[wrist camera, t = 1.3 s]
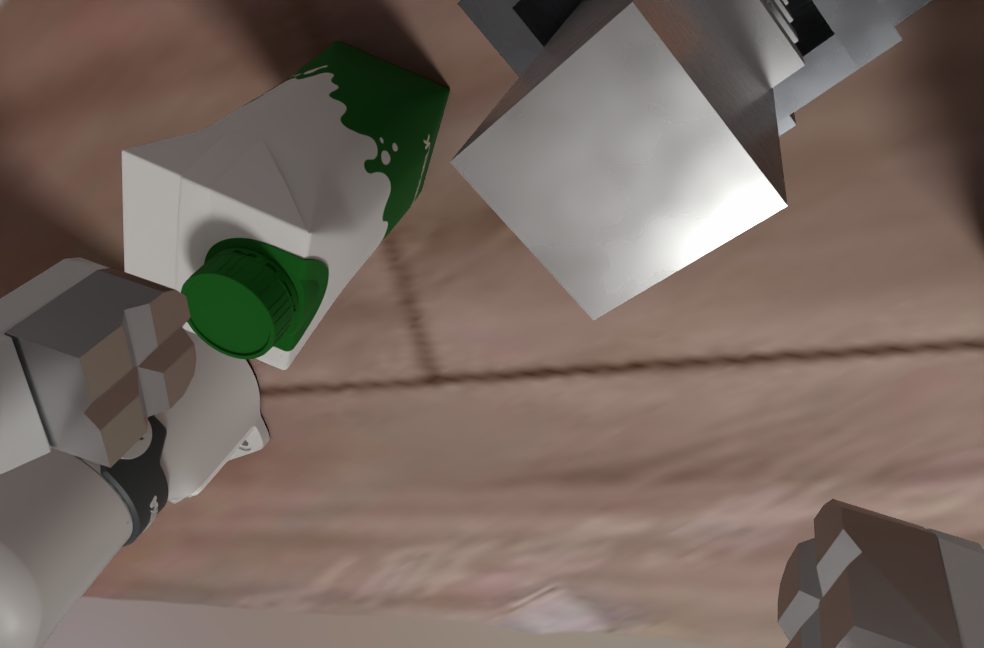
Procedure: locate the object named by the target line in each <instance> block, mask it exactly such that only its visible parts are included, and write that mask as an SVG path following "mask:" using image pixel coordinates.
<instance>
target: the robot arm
mask: <svg viewBox="0 0 984 648" xmlns="http://www.w3.org/2000/svg"><path fill="white" fill-rule="evenodd" d="M189 318H190V312H189V307H188V303H187V298H186V296H185V295H183V294H182V293H180V292H179V291H177V290H175V289H172V288H169V287H166V286H164V285H161V284H158V283H155V282H152V281H149V280H146V279H143V278H141V277H138V276H135V275H132V274H129V273H126V272H123V271H120V270H118V269H115V268H109V267H106V266H103V265H100V264H98V263H95V262H92V261H89V260H86V259H84V258H81V257H76V258H67V259H63V260H62V261H60V262H59V263H57V264H55V265H54V266H52V267H51V268H49V269H47V270H46V271H44V272H42V273H41V274H39V275H38V276H36V277H34V278H33V279H31V280H30V281H28V282H26V283H25V284H23V285H22V286H20V287H18V288H17V289H15V290H13V291H12V292H10V293H9V294H7V295H5V296H4V297H2V298H1V299H0V648H43V646H44V644H45V643H46V642H47V640H48V639H49V637H50V636H51V635H52V633H53V632H54V630H55V629H56V628H57V626H58V625H59V623H60V622H61V621H62V620H63V618H64V617H65V616H66V615H67V613H68V612H69V611H70V610H71V608H72V607H73V606H74V605H75V604H76V602H77V601H78V600H79V599H80V597H81V596H82V595H83V594H84V592H85V591H86V590H87V589H88V588H89V586H90V585H91V584H92V583H93V581H94V580H95V579H96V578H97V576H98V575H99V574H100V573H101V572H102V570H103V569H104V568H105V567H106V565H107V564H108V563H109V562H110V561H111V559H112V558H113V557H114V556H115V554H116V553H117V552H118V551H119V550H120V548H121V547H123V546H127V545H129V544H131V543H132V542H134V541H135V539H136V538H137V537H138V536H139V535H140V534H141V533H142V532H144V531H145V530H146V529H147V528H148V527H149V526H150V525H151V524H152V523H153V521H154V520H155V518H156V515H157V514H158V513H159V512H160V511H161V509H162V508H163V507H164V506H165V504H166V502H167V501H168V500H169V501H170V502H171V503H177V502H179V501H180V500H182V499H183V498H185V497H189V498H190V497H192V496H194V495H197V494H198V493H200V492H201V491H202V490H203V489H204V487H205V486H206V485H207V484H208V483H209V482H210V481H211V479H212V478H213V477H214V476H215V475H216V474H217V472H218V471H219V470H220V469H221V468H222V467H223V465H224V464H225V463H226V462H227V461H229V460H232V459H234V458H237V457H240V456H243V455H246V454H249V453H252V452H255V451H258V450H260V449H262V448H263V447H264V446H265V445H266V444H267V443H268V442H269V433H268V430H267V428H266V426H265V424H264V422H263V419H262V417H261V414H260V393H259V388H258V384H257V381H256V378H255V376H254V374H253V372H252V370H251V368H250V366H249V364H248V363H247V361H246V359H238V358H234V357H230V356H227V355H225V354H222V353H220V352H218V351H217V350H215V349H213V348H212V347H210V346H209V345H208V344H206V343H205V342H204V341H203V340H202V339H200V338H199V337H198V336H197V334H195V333H192V332H190V331H187V330H185V329H183V326H184V324H185V323H186V322H187V321H188V320H189ZM814 532H815V538H813V539H810V540H807V541H804V542H801V543H799V544H798V545H797V546H796V548H795V550H794V551H793V553H792V555H791V556H790V558H789V560H788V562H787V564H786V567H785V570H784V574H783V577H782V580H781V583H780V589H779V597H778V623H779V625H780V627H781V628H782V630H783V631H784V633H785V635H786V636H787V638H788V639H789V641H790V642H789V644H788V645H787V647H786V648H984V549H983V547H982V546H981V545H980V544H979V543H976V542H973V541H969V540H966V539H963V538H959V537H956V536H953V535H950V534H946V533H943V532H940V531H936V530H933V529H930V528H929V529H926V528H924V527H922V526H919V525H915V524H912V523H909V522H906V521H903V520H899V519H896V518H893V517H890V516H886V515H883V514H880V513H877V512H874V511H870V510H867V509H864V508H861V507H857V506H854V505H851V504H848V503H845V502H841V501H838V500H835V499H832V500H830V501H829V502H827V503H826V504H825V505H823V507H822V508H821V510H820V511H819V513H818V514H817V516H816V517H815V519H814Z"/></svg>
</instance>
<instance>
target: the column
mask: <svg viewBox="0 0 984 648" xmlns="http://www.w3.org/2000/svg"><path fill="white" fill-rule="evenodd" d="M787 4H789V2H788V0H582V1H581V2H580V4H579V5H578V6H577V7H576V8H575V10H574V11H573V12H572V13H571V15H570V16H569V17H568V18H567V19H566V21H565V22H564V23H563V24H562V26H561V27H560V28H559V29H558V31H557V32H556V33H555V34H554V35H553V37H552V38H551V39H550V40H549V42H548V43H547V44H546V45H545V46H544V48H543V49H542V50H541V51H540V53H539V54H538V55H537V56H536V57H535V59H534V60H533V61H532V62H531V64H530V65H529V66H528V67H527V68H526V70H525V71H524V72H523V73H522V75H521V76H520V77H519V78H518V79H517V81H516V82H515V83H514V84H513V86H512V87H511V88H510V89H509V90H508V92H507V93H506V94H505V95H504V97H503V98H502V99H501V100H500V101H499V103H498V104H497V105H496V106H495V108H494V109H493V110H492V111H491V112H490V114H489V115H488V116H487V117H486V119H485V120H484V121H483V122H482V123H481V125H480V126H479V127H478V128H477V130H476V131H475V132H474V133H473V134H472V136H471V137H470V138H469V139H468V141H467V142H466V143H465V144H464V145H463V147H462V148H461V149H460V150H459V152H458V153H457V154H456V155H455V156H454V158H453V159H452V160H451V161H450V163H451V164H452V165H453V166H454V167H455V169H456V170H457V171H458V172H459V173H460V174H461V175H462V176H463V177H464V178H465V180H466V181H467V182H468V183H469V184H470V185H471V186H472V187H473V188H474V189H475V191H476V192H477V193H478V194H479V195H480V196H481V197H482V198H483V199H484V200H485V202H486V203H487V204H488V205H489V206H490V207H491V208H492V209H493V210H494V211H495V213H496V214H497V215H498V216H499V217H500V218H501V219H502V220H503V221H504V222H505V224H506V225H507V226H508V227H509V228H510V229H511V230H512V231H513V232H514V233H515V235H516V236H517V237H518V238H519V239H520V240H521V241H522V242H523V243H524V244H525V246H526V247H527V248H528V249H529V250H530V251H531V252H532V253H533V254H534V255H535V257H536V258H537V259H538V260H539V261H540V262H541V263H542V264H543V265H544V266H545V268H546V269H547V270H548V271H549V272H550V273H551V274H552V275H553V276H554V277H555V279H556V280H557V281H558V282H559V283H560V284H561V285H562V286H563V287H564V288H565V290H566V291H567V292H568V293H569V294H570V295H571V296H572V297H573V298H574V299H575V301H576V302H577V303H578V304H579V305H580V306H581V307H582V308H583V309H584V310H585V312H586V313H587V314H588V315H589V316H590V317H591V318H592V319H593V320H595V319H597V318H599V317H600V316H602V315H604V314H605V313H607V312H609V311H610V310H612V309H614V308H616V307H617V306H619V305H621V304H622V303H624V302H626V301H627V300H629V299H631V298H632V297H634V296H636V295H638V294H639V293H641V292H643V291H644V290H646V289H648V288H649V287H651V286H653V285H654V284H656V283H658V282H660V281H661V280H663V279H665V278H666V277H668V276H670V275H671V274H673V273H675V272H677V271H678V270H680V269H682V268H683V267H685V266H687V265H688V264H690V263H692V262H693V261H695V260H697V259H699V258H700V257H702V256H704V255H705V254H707V253H709V252H710V251H712V250H714V249H716V248H717V247H719V246H721V245H722V244H724V243H726V242H727V241H729V240H731V239H732V238H734V237H736V236H738V235H739V234H741V233H743V232H744V231H746V230H748V229H749V228H751V227H753V226H754V225H756V224H758V223H760V222H761V221H763V220H765V219H766V218H768V217H770V216H771V215H773V214H775V213H777V212H778V211H780V210H782V209H783V208H785V207H787V198H786V190H785V182H784V174H783V166H782V158H781V149H780V141H779V133H778V125H777V117H776V109H775V101H774V93H773V87H774V86H776V85H777V84H779V83H780V82H782V81H783V80H784V79H786V78H787V77H789V76H790V75H792V74H793V73H795V72H796V71H797V70H799V69H800V68H802V67H803V66H805V63H804V59H803V56H802V54H801V53H800V51H799V50H798V48H797V47H796V46H795V43H796V42H797V41H799V40H798V36H797V33H796V31H795V30H794V28H793V27H792V25H791V24H790V22H792V21H793V17H792V14H791V12H790V11H789V9H788V8H787V6H786V5H787Z"/></svg>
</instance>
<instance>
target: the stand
mask: <svg viewBox="0 0 984 648" xmlns="http://www.w3.org/2000/svg"><path fill="white" fill-rule="evenodd" d="M581 1H582V0H461V1H460V2H459V3H458V5H459V6H460V7H461V8H462V9H463V11H464V12H465V13H466V14H467V15H468V17H469V18H470V19H471V20H472V21H473V23H474V24H475V25H476V26H477V27H478V29H479V30H480V31H481V32H482V33H483V34H484V36H485V37H486V38H487V39H488V40H489V42H490V43H491V44H492V45H493V46H494V48H495V49H496V50H497V51H498V52H499V54H500V55H501V56H502V57H503V58H504V59H505V61H506V62H507V63H508V64H509V65H510V67H511V68H512V69H513V70H514V71H515V73H516V74H517V75H518V76H519V77H520V76H521V75H522V73H523V72H524V71H525V70H526V68H527V67H528V66H529V65H530V64H531V62H532V61H533V60H534V59H535V57H536V56H537V55H538V54H539V53H540V51H541V50H542V49H543V48H544V46H545V45H546V44H547V43H548V42H549V40H550V39H551V38H552V37H553V35H554V34H555V33H556V32H557V31H558V29H559V28H560V27H561V26H562V24H563V23H564V22H565V21H566V19H567V18H568V17H569V16H570V15H571V13H572V12H573V11H574V10H575V8H576V7H577V6H578V5H579V4H580V2H581ZM931 1H933V0H788V2H789V4H787V5H786V6H787V8H788V9H789V11H790V12H791V14H792V17H793V21H792V22H790V24H791V25H792V27H793V28H794V30H795V31H796V33H797V36H798V40H799V41H797V42H796V43H795V46H796V47H797V48H798V50H799V51H800V53H801V54H802V56H803V59H804V63H805V66H803V67H802V68H800V69H799V70H797V71H796V72H795V73H793V74H792V75H790V76H789V77H787V78H786V79H784V80H783V81H782V82H780V83H779V84H777V85H776V86H774V87H773V93H774V101H775V109H776V117H777V125H778V133H779V136H780V135H782V134H783V133H785V132H786V131H788V130H789V129H791V128H792V127H794V126H795V125H796V121H795V115H794V112H795V111H796V110H798V109H799V108H801V107H802V106H804V105H805V104H807V103H808V102H810V101H811V100H813V99H814V98H816V97H817V96H819V95H820V94H822V93H823V92H825V91H826V90H828V89H829V88H831V87H832V86H834V85H835V84H837V83H838V82H840V81H841V80H843V79H844V78H846V77H847V76H849V75H850V74H852V73H853V72H855V71H856V70H858V69H859V68H861V67H862V66H864V65H865V64H867V63H868V62H870V61H871V60H873V59H875V58H876V57H878V56H879V55H881V54H882V53H884V52H885V51H887V50H888V49H890V48H891V47H893V46H894V45H896V44H897V43H899V42H900V41H902V40H903V39H902V38H901V36H900V35H899V33H898V32H897V30H896V29H895V27H894V26H896V25H897V24H899V23H900V22H902V21H903V20H905V19H906V18H908V17H909V16H911V15H912V14H914V13H915V12H916V11H918V10H919V9H921V8H922V7H924V6H925V5H927V4H928V3H930V2H931Z"/></svg>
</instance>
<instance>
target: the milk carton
mask: <svg viewBox="0 0 984 648" xmlns="http://www.w3.org/2000/svg"><path fill="white" fill-rule="evenodd" d="M449 92H450V89H449V88H446V87H444V86H442V85H439V84H437V83H435V82H432V81H430V80H428V79H425V78H423V77H421V76H418V75H416V74H414V73H411V72H409V71H407V70H404V69H402V68H400V67H397V66H395V65H393V64H390V63H388V62H386V61H383V60H381V59H379V58H376V57H374V56H372V55H369V54H367V53H365V52H362V51H360V50H358V49H355V48H353V47H351V46H348V45H346V44H344V43H341V42H339V41H335V42H334V43H333V44H332V45H330V46H329V47H328V48H327V49H325V50H324V51H323V52H321V53H320V54H319V55H318V56H316V57H315V58H314V59H312V60H311V61H310V62H309V63H307V64H306V65H305V66H303V67H302V68H301V69H300V70H298V71H297V72H296V73H294V74H293V75H292V76H291V77H289V78H288V79H287V80H285V81H284V82H282V83H281V84H279V85H277V86H276V87H274V88H272V89H271V90H269V91H267V92H266V93H264V94H262V95H261V96H259V97H257V98H256V99H254V100H252V101H251V102H249V103H247V104H246V105H244V106H242V107H241V108H239V109H237V110H236V111H234V112H232V113H231V114H229V115H227V116H226V117H224V118H222V119H221V120H219V121H217V122H216V123H214V124H212V125H211V126H209V127H207V128H205V129H204V130H201V131H197V132H194V133H190V134H186V135H182V136H178V137H174V138H170V139H166V140H162V141H158V142H154V143H150V144H146V145H142V146H137V147H133V148H129V149H125V150H122V187H123V229H124V272H126V273H129V274H132V275H135V276H138V277H141V278H143V279H146V280H149V281H152V282H155V283H158V284H161V285H164V286H166V287H169V288H172V289H175V290H177V291H179V292H180V293H182V294H183V295H185V296H186V298H187V303H188V307H189V312H190V318H189V320H188V321H187V322H186V323H185V324H184V326H183V329H185V330H187V331H190V332H192V333H195V334H197V336H198V337H199V338H200V339H202V340H203V341H204V342H205V343H206V344H208V345H209V346H210V347H212V348H213V349H215V350H217V351H218V352H220V353H222V354H225V355H227V356H230V357H234V358H238V359H254V358H256V359H258V360H260V361H263V362H265V363H267V364H270V365H272V366H274V367H277V368H279V369H282V370H285V369H288V367H289V366H290V364H291V363H292V361H293V360H294V358H295V357H296V356H297V354H298V353H299V351H300V350H301V348H302V347H303V345H304V344H305V343H306V341H307V340H308V338H309V337H310V335H311V334H312V332H313V331H314V330H315V328H316V327H317V325H318V324H319V322H320V321H321V319H322V318H323V317H324V315H325V314H326V312H327V311H328V309H329V308H330V307H331V305H332V304H333V302H334V301H335V299H336V298H337V297H338V295H339V294H340V293H341V291H342V290H343V289H344V287H345V286H346V285H347V284H348V282H349V281H350V280H351V279H352V277H353V276H354V275H355V274H356V272H357V271H358V270H359V269H360V268H361V266H362V265H363V264H364V263H365V262H366V260H367V259H368V258H369V257H370V255H371V254H372V253H373V252H374V251H375V249H376V248H377V247H378V246H379V245H380V243H381V242H382V241H383V240H384V238H385V237H386V236H387V235H388V234H389V232H390V231H391V230H392V229H393V228H394V226H395V225H396V224H397V223H398V221H399V220H400V219H401V218H402V217H403V215H404V214H405V213H406V212H407V211H408V209H409V208H410V207H411V206H412V204H413V203H414V201H415V200H416V198H417V197H418V195H419V194H420V192H421V190H422V187H423V183H424V180H425V176H426V173H427V169H428V166H429V162H430V159H431V155H432V152H433V148H434V145H435V141H436V138H437V134H438V130H439V127H440V123H441V120H442V116H443V113H444V109H445V106H446V102H447V99H448V95H449Z"/></svg>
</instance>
